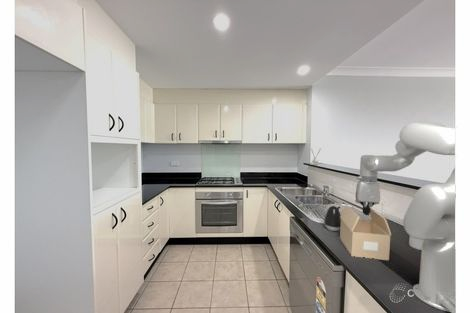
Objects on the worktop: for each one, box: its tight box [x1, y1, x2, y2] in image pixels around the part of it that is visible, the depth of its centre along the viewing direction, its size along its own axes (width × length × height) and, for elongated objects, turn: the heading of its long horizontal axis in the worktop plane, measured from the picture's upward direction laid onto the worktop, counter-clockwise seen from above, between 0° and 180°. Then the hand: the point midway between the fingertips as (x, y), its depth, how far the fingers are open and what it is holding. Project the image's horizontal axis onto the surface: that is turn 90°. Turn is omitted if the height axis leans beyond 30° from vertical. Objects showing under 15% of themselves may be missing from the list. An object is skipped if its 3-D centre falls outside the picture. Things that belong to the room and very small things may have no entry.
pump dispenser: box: [323, 205, 342, 232], centre depth 132 cm, size 10×10×15 cm
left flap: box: [340, 204, 360, 232], centre depth 110 cm, size 20×8×1 cm
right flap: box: [369, 207, 392, 236], centre depth 107 cm, size 20×8×1 cm
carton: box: [339, 219, 391, 261], centre depth 109 cm, size 20×16×12 cm
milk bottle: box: [408, 235, 424, 251], centre depth 111 cm, size 8×8×20 cm
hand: (366, 214), depth 108 cm, fingers closed
